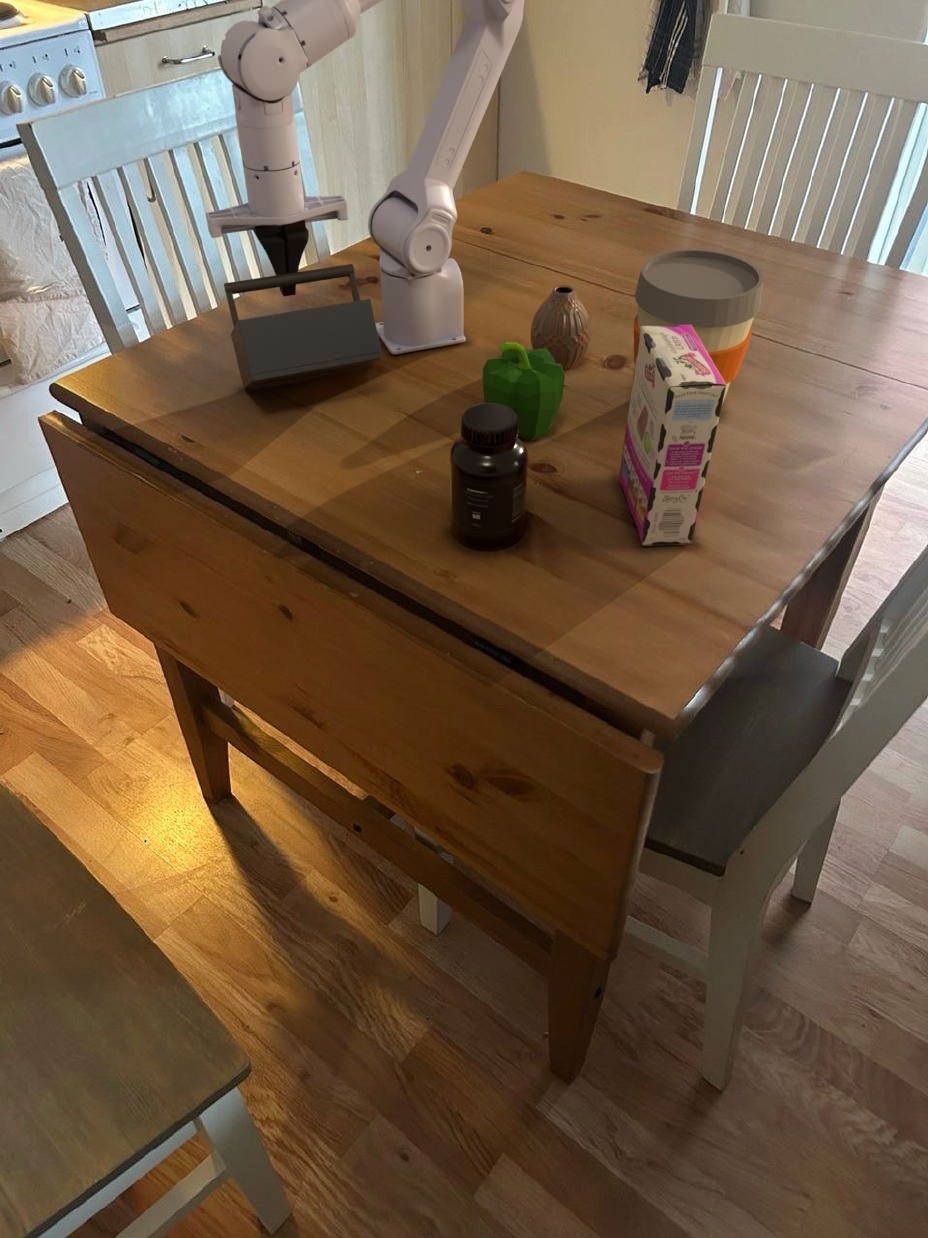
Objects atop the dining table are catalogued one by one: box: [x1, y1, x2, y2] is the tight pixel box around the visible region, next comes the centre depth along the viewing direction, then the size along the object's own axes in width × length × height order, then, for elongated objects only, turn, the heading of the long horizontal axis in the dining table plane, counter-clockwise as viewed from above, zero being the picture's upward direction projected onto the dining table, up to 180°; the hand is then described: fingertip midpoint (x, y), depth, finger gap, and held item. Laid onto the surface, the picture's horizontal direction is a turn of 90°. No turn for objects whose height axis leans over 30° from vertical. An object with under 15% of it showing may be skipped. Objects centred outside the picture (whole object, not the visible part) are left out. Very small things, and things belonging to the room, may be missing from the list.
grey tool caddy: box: [223, 263, 383, 389], centre depth 104 cm, size 10×14×11 cm
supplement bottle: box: [449, 402, 529, 551], centre depth 85 cm, size 7×7×12 cm
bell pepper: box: [482, 341, 566, 441], centre depth 99 cm, size 8×8×10 cm
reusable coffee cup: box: [633, 248, 764, 405], centre depth 100 cm, size 13×13×15 cm
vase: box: [530, 284, 592, 370], centre depth 110 cm, size 7×7×9 cm
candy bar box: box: [618, 325, 727, 547], centre depth 86 cm, size 11×5×16 cm, turn 5°
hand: (287, 291), depth 106 cm, fingers closed, pressing on grey tool caddy
